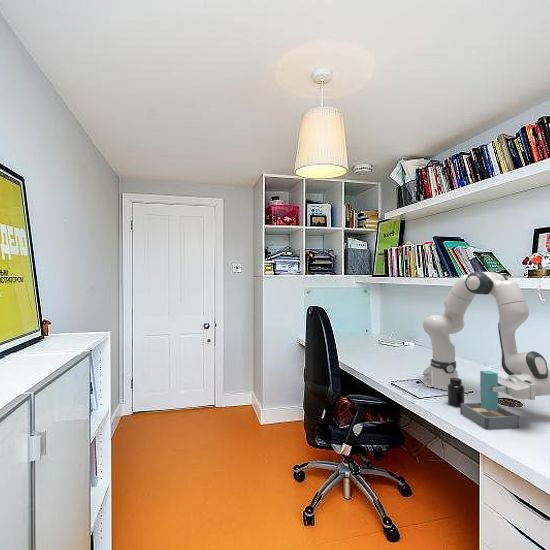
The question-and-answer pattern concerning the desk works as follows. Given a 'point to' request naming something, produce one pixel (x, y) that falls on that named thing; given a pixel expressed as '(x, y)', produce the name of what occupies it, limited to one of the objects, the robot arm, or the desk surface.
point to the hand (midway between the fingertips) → (486, 386)
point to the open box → (489, 416)
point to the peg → (488, 390)
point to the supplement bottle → (455, 392)
